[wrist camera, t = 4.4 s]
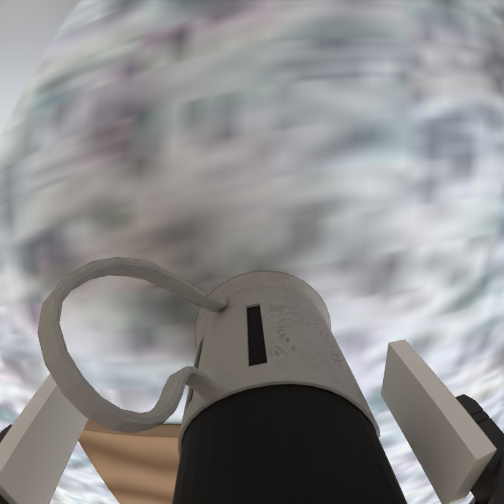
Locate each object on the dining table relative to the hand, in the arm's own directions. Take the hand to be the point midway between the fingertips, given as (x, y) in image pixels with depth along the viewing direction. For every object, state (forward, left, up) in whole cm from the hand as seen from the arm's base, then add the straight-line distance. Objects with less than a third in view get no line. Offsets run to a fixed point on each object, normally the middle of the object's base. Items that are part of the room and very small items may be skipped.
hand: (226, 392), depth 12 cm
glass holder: (0, 0, -8) cm, 8 cm away
